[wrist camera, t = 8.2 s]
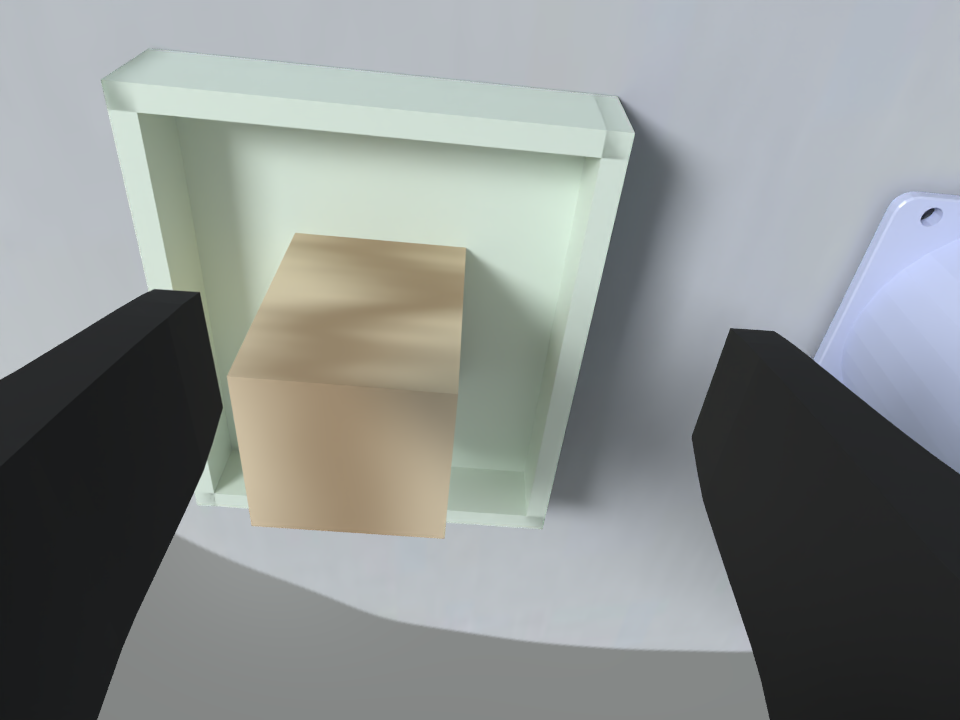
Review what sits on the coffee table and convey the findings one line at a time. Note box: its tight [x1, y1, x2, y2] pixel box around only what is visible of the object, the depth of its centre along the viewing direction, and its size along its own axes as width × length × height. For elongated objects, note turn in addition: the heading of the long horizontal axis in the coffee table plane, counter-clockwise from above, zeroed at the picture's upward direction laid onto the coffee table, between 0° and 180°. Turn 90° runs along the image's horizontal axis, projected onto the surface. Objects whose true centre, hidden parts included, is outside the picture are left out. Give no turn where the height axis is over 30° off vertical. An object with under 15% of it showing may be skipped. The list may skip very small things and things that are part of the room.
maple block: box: [227, 233, 466, 539], centre depth 17 cm, size 4×4×6 cm
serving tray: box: [101, 49, 635, 529], centre depth 19 cm, size 11×13×2 cm
